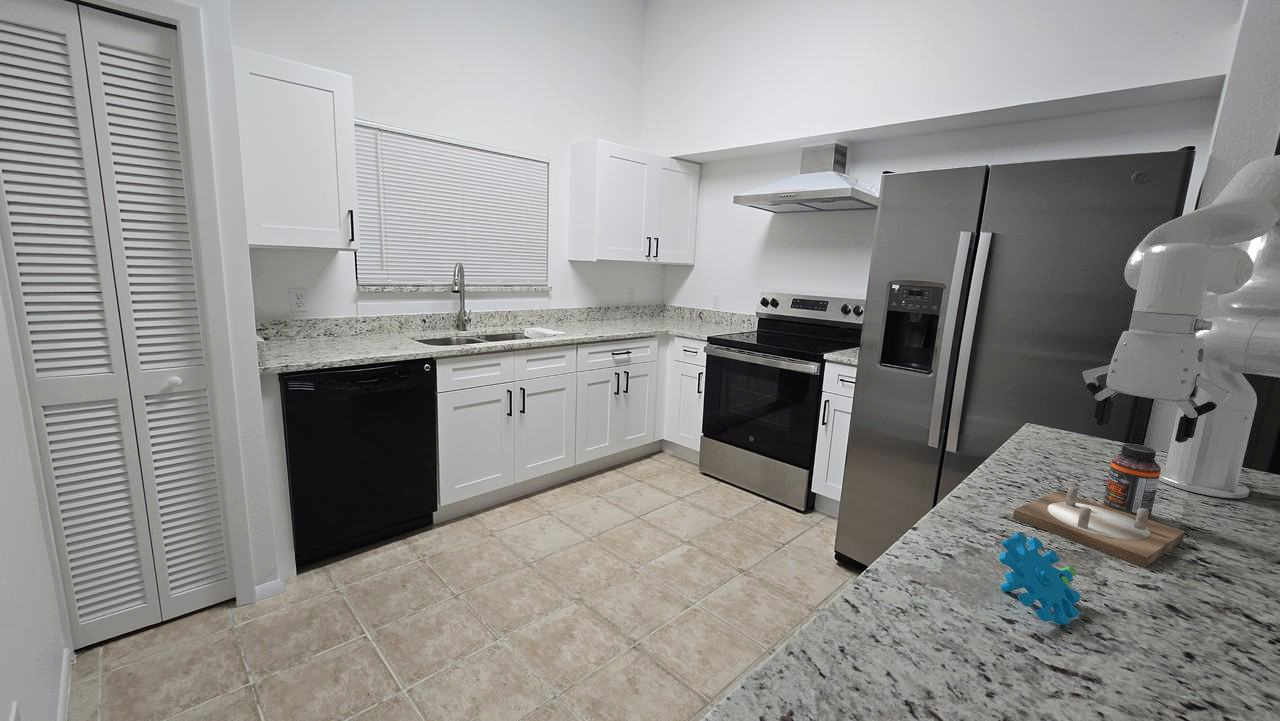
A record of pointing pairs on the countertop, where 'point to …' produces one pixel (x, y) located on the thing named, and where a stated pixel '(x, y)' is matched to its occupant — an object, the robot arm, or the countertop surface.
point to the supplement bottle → (1132, 480)
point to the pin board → (1101, 527)
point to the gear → (1039, 579)
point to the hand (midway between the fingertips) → (1140, 432)
